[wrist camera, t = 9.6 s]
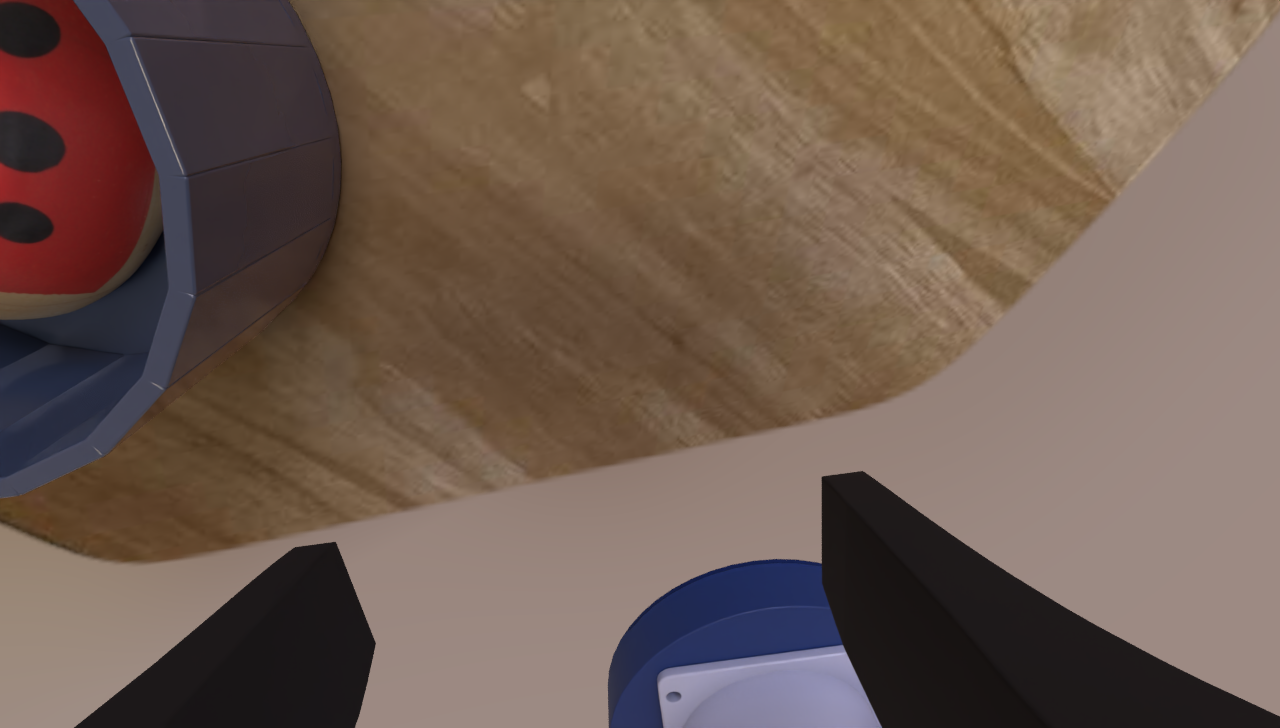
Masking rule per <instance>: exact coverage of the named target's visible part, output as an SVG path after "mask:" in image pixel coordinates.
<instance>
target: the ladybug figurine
mask: <svg viewBox="0 0 1280 728" xmlns="http://www.w3.org/2000/svg"><path fill="white" fill-rule="evenodd" d="M162 231H163V220H162V208H161V197H160V186H159V176H158V173H157V171H156V168H155V166H154V163H153V161H152V158H151V156H150V154H149V151H148V149H147V146H146V144H145V141H144V139H143V136H142V134H141V132H140V129H139V127H138V124H137V122H136V119H135V117H134V114H133V112H132V110H131V107H130V105H129V102H128V100H127V97H126V95H125V93H124V90H123V88H122V85H121V83H120V80H119V78H118V75H117V73H116V71H115V68H114V66H113V63H112V61H111V58H110V56H109V53H108V51H107V49H106V46H105V44H104V43H103V41H102V40H101V38H100V37H99V36H98V34H97V33H96V32H95V30H94V29H93V27H92V26H91V25H90V23H89V22H88V21H87V19H86V18H85V17H84V15H83V14H82V12H81V11H80V10H79V8H78V7H77V6H76V4H75V3H74V1H73V0H0V320H24V319H37V318H46V317H53V316H57V315H62V314H66V313H70V312H73V311H76V310H78V309H80V308H83V307H85V306H87V305H89V304H91V303H93V302H95V301H97V300H99V299H101V298H102V297H104V296H106V295H108V294H109V293H111V292H112V291H114V290H115V289H117V288H118V287H119V286H120V285H122V284H123V283H124V282H125V281H126V280H127V279H129V278H130V277H131V276H132V275H133V274H134V273H135V272H136V271H137V269H138V268H139V267H140V266H141V264H142V263H143V262H144V260H145V259H146V258H147V256H148V255H149V253H150V252H151V250H152V249H153V247H154V246H155V244H156V242H157V240H158V239H159V237H160V235H161V233H162Z"/></svg>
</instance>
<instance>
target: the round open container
mask: <svg viewBox="0 0 1280 728" xmlns="http://www.w3.org/2000/svg"><path fill="white" fill-rule="evenodd" d="M73 1H74V3H75V4H76V6H77V7H78V8H79V10H80V11H81V12H82V14H83V15H84V17H85V18H86V19H87V21H88V22H89V23H90V25H91V26H92V27H93V29H94V30H95V32H96V33H97V34H98V36H99V37H100V38H101V40H102V41H103V43H104V44H105V46H106V49H107V51H108V53H109V56H110V58H111V61H112V63H113V66H114V68H115V71H116V73H117V75H118V78H119V80H120V83H121V85H122V88H123V90H124V93H125V95H126V97H127V100H128V102H129V105H130V107H131V110H132V112H133V114H134V117H135V119H136V122H137V124H138V127H139V129H140V132H141V134H142V136H143V139H144V141H145V144H146V146H147V149H148V151H149V154H150V156H151V158H152V161H153V163H154V166H155V168H156V171H157V173H158V176H159V186H160V197H161V208H162V220H163V231H162V233H161V235H160V237H159V239H158V240H157V242H156V244H155V246H154V247H153V249H152V250H151V252H150V253H149V255H148V256H147V258H146V259H145V260H144V262H143V263H142V264H141V266H140V267H139V268H138V269H137V271H136V272H135V273H134V274H133V275H132V276H131V277H130V278H129V279H127V280H126V281H125V282H124V283H123V284H122V285H120V286H119V287H118V288H117V289H115V290H114V291H112V292H111V293H109V294H108V295H106V296H104V297H102V298H101V299H99V300H97V301H95V302H93V303H91V304H89V305H87V306H85V307H83V308H80V309H78V310H76V311H73V312H70V313H66V314H62V315H57V316H53V317H46V318H37V319H24V320H0V498H7V497H15V496H19V495H23V494H26V493H28V492H30V491H32V490H34V489H36V488H39V487H41V486H43V485H45V484H47V483H49V482H51V481H54V480H56V479H58V478H60V477H62V476H64V475H66V474H68V473H71V472H73V471H75V470H77V469H79V468H81V467H83V466H85V465H88V464H90V463H92V462H94V461H96V460H98V459H100V458H102V457H105V456H106V455H107V454H109V453H110V452H111V451H113V450H114V449H115V448H116V447H118V446H119V445H120V444H121V443H123V442H124V441H125V440H126V439H128V438H129V437H130V436H131V435H133V434H134V433H135V432H136V431H138V430H139V429H140V428H141V427H143V426H144V425H145V424H146V423H148V422H149V421H150V420H151V419H153V418H154V417H155V416H156V415H158V414H159V413H160V412H161V411H163V410H164V409H165V408H166V407H168V406H169V405H170V404H171V403H173V402H174V401H175V400H176V399H178V398H179V397H180V396H182V395H183V394H184V393H185V392H187V391H188V390H189V389H190V388H192V387H193V386H194V385H195V384H197V383H198V382H199V381H200V380H202V379H203V378H204V377H205V376H207V375H208V374H209V373H210V372H212V371H213V370H214V369H215V368H217V367H218V366H219V365H220V364H222V363H223V362H224V361H225V360H227V359H228V358H229V357H230V356H232V355H233V354H234V353H235V352H237V351H238V350H239V349H240V348H242V347H243V346H244V345H245V344H247V343H248V342H249V341H250V340H252V339H253V338H254V337H255V336H257V335H258V334H259V333H261V332H262V331H263V330H264V329H265V328H266V327H267V326H268V325H269V324H270V322H271V321H272V320H273V319H274V318H275V317H276V316H278V315H279V314H280V313H281V312H282V311H283V310H284V309H285V308H286V307H287V306H288V305H289V304H290V303H291V302H292V301H293V300H294V299H295V298H296V297H297V296H298V295H299V293H300V292H301V291H302V289H303V288H304V287H305V285H306V284H307V283H308V281H309V280H310V278H311V277H312V276H313V274H314V272H315V270H316V268H317V266H318V264H319V263H320V261H321V259H322V257H323V255H324V253H325V251H326V248H327V245H328V242H329V239H330V236H331V233H332V230H333V227H334V224H335V219H336V214H337V208H338V202H339V197H340V179H341V156H340V146H339V135H338V127H337V122H336V118H335V113H334V109H333V104H332V100H331V96H330V92H329V89H328V86H327V83H326V80H325V77H324V74H323V72H322V69H321V66H320V63H319V60H318V57H317V55H316V53H315V51H314V49H313V47H312V44H311V42H310V40H309V38H308V36H307V34H306V32H305V30H304V28H303V26H302V24H301V22H300V19H299V18H298V16H297V14H296V13H295V11H294V10H293V8H292V6H291V5H290V3H289V2H288V0H73Z"/></svg>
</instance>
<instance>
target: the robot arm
mask: <svg viewBox="0 0 1280 728" xmlns="http://www.w3.org/2000/svg"><path fill="white" fill-rule="evenodd" d="M822 585H823V588H824V591H825V594H826V597H827V600H828V603H829V606H830V609H831V612H832V615H833V618H834V621H835V624H836V627H837V629H838V632H839V635H840V638H841V641H842V644H843V645H838V646H830V647H823V648H815V649H808V650H800V651H793V652H785V653H778V654H770V655H763V656H755V657H747V658H740V659H732V660H725V661H717V662H710V663H702V664H695V665H687V666H680V667H672V668H667V669H665V670H663V671H661V672H660V673H659V675H658V676H657V685H658V693H659V700H660V707H661V714H662V721H663V728H1280V716H1277V715H1275V714H1273V713H1271V712H1269V711H1266V710H1264V709H1262V708H1260V707H1258V706H1256V705H1254V704H1252V703H1249V702H1247V701H1245V700H1243V699H1241V698H1239V697H1237V696H1234V695H1232V694H1230V693H1228V692H1226V691H1224V690H1221V689H1219V688H1217V687H1215V686H1213V685H1211V684H1209V683H1206V682H1204V681H1202V680H1200V679H1198V678H1196V677H1194V676H1192V675H1190V674H1188V673H1186V672H1184V671H1182V670H1180V669H1178V668H1176V667H1174V666H1172V665H1170V664H1168V663H1166V662H1164V661H1162V660H1160V659H1158V658H1156V657H1154V656H1153V655H1150V654H1149V653H1147V652H1145V651H1143V650H1141V649H1139V648H1137V647H1136V646H1134V645H1132V644H1130V643H1128V642H1126V641H1124V640H1123V639H1121V638H1119V637H1117V636H1115V635H1113V634H1111V633H1109V632H1108V631H1106V630H1104V629H1102V628H1100V627H1098V626H1096V625H1095V624H1093V623H1091V622H1089V621H1087V620H1086V619H1084V618H1082V617H1080V616H1079V615H1077V614H1075V613H1073V612H1072V611H1070V610H1068V609H1066V608H1065V607H1063V606H1061V605H1060V604H1058V603H1056V602H1055V601H1053V600H1052V599H1050V598H1048V597H1047V596H1045V595H1043V594H1042V593H1040V592H1039V591H1037V590H1035V589H1034V588H1032V587H1030V586H1029V585H1027V584H1025V583H1024V582H1022V581H1021V580H1019V579H1017V578H1015V577H1014V576H1013V575H1011V574H1009V573H1008V572H1006V571H1005V570H1003V569H1002V568H1000V567H999V566H997V565H996V564H994V563H992V562H991V561H989V560H988V559H986V558H985V557H983V556H982V555H980V554H979V553H977V552H976V551H974V550H973V549H971V548H970V547H969V546H967V545H965V544H964V543H963V542H961V541H960V540H958V539H957V538H955V537H954V536H952V535H951V534H950V533H948V532H947V531H945V530H944V529H943V528H941V527H940V526H938V525H937V524H936V523H934V522H933V521H931V520H930V519H929V518H927V517H926V516H924V515H923V514H921V513H920V512H918V511H917V510H916V509H915V508H913V507H912V506H911V505H909V504H908V503H906V502H905V501H904V500H902V499H901V498H900V497H898V496H897V495H895V494H894V493H893V492H891V491H890V490H889V489H887V488H886V487H885V486H883V485H881V484H880V483H879V482H878V481H876V480H875V479H873V478H872V477H871V476H869V475H868V474H866V473H865V472H863V471H861V472H853V473H845V474H838V475H830V476H823V477H822ZM375 644H376V643H375V640H374V638H373V635H372V633H371V630H370V628H369V625H368V623H367V620H366V618H365V615H364V612H363V610H362V607H361V605H360V602H359V600H358V597H357V595H356V592H355V589H354V587H353V584H352V582H351V579H350V577H349V574H348V572H347V569H346V567H345V564H344V562H343V559H342V556H341V554H340V551H339V549H338V547H337V544H336V542H332V543H324V544H317V545H309V546H302V547H295V548H293V549H292V550H291V551H289V552H288V553H286V554H285V555H284V556H283V557H281V558H280V559H278V560H277V561H276V562H275V563H273V564H272V565H271V566H270V567H268V568H267V569H266V570H265V571H263V572H262V573H261V574H260V575H259V576H257V577H256V578H255V579H254V580H253V581H251V582H250V583H249V584H248V585H247V586H246V587H244V588H243V589H242V590H241V591H240V592H238V593H237V594H236V595H235V596H234V597H233V598H231V599H230V600H229V601H228V602H227V603H226V604H224V605H223V606H222V607H221V608H220V609H218V610H217V611H216V612H215V613H214V614H213V615H212V616H210V617H209V618H208V619H207V620H205V621H204V622H203V623H202V624H201V625H200V626H199V627H197V628H196V629H195V630H194V631H192V632H191V633H190V634H189V635H188V636H187V637H185V638H184V639H183V640H182V641H181V642H179V643H178V644H177V645H176V646H175V647H174V648H172V649H171V650H170V651H169V652H168V653H167V654H165V655H164V656H163V657H162V658H160V659H159V660H158V661H157V662H156V663H154V664H153V665H152V666H151V667H150V668H148V669H147V670H146V671H145V672H143V673H142V674H141V675H140V676H138V677H137V678H136V679H135V680H133V681H132V682H131V683H130V684H128V685H127V686H126V687H125V688H123V689H122V690H121V691H119V692H118V693H117V694H116V695H114V696H113V697H112V698H111V699H109V700H108V701H107V702H106V703H104V704H103V705H102V706H101V707H99V708H98V709H97V710H96V711H94V712H93V713H92V714H91V715H90V716H88V717H87V718H86V719H84V720H83V721H82V722H81V723H79V724H78V725H77V726H76V727H74V728H355V725H356V722H357V720H358V717H359V714H360V710H361V706H362V702H363V698H364V694H365V690H366V686H367V682H368V677H369V673H370V668H371V663H372V659H373V654H374V649H375Z"/></svg>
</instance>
